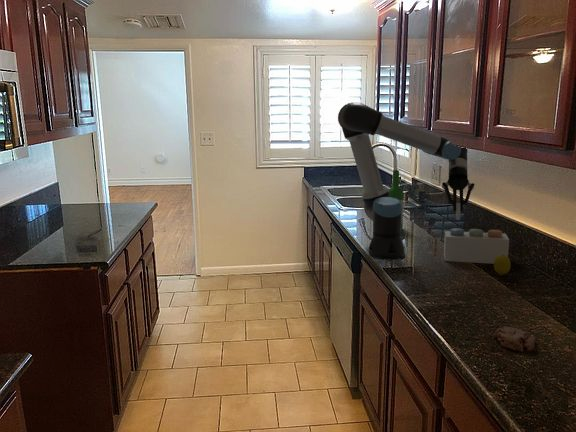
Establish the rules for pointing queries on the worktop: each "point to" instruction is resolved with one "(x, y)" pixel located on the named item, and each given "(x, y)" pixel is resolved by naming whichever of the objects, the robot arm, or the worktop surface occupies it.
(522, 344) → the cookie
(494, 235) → the button terracotta
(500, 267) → the lemon
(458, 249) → the console
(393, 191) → the wine bottle
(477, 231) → the button green
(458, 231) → the button blue
